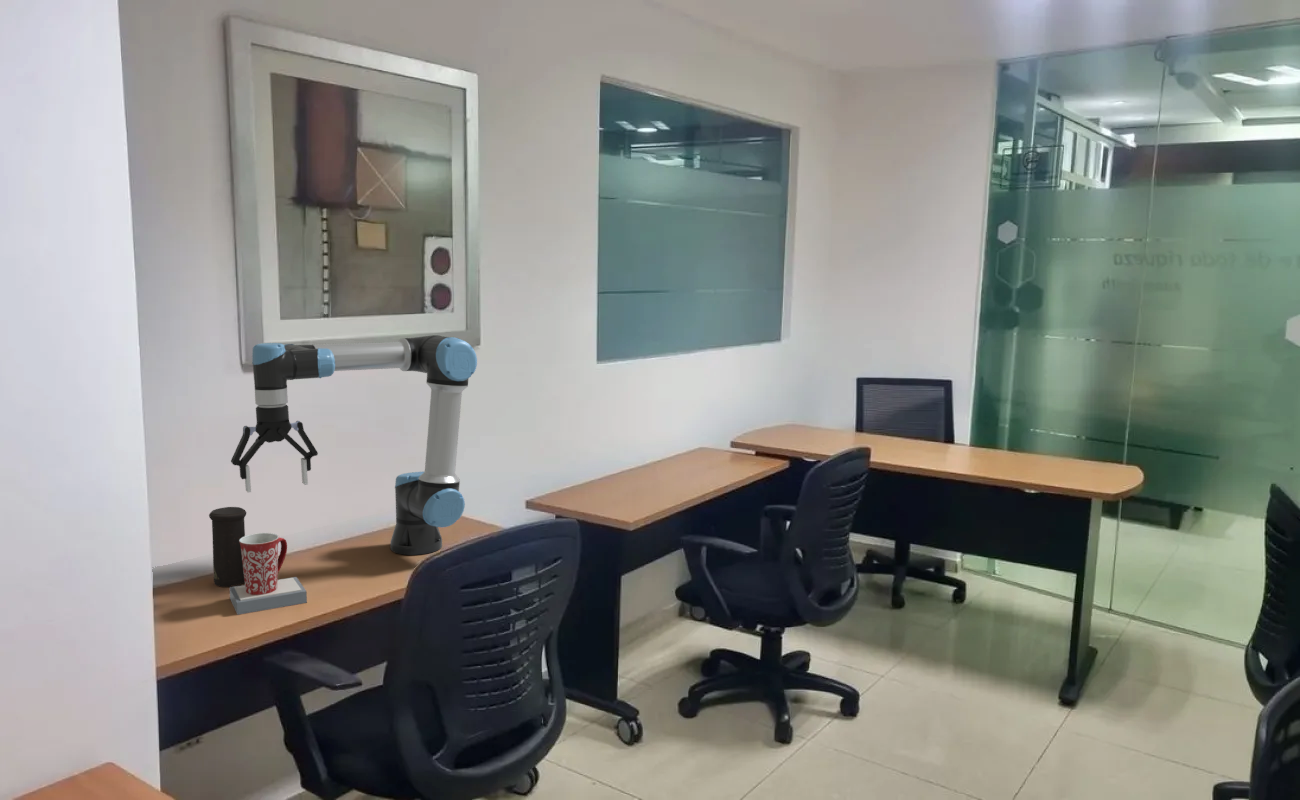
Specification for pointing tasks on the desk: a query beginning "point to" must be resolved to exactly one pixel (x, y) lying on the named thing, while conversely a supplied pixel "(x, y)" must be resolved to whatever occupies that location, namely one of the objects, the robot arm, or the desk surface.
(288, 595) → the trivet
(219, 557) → the container
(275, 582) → the mug
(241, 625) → the desk surface
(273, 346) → the robot arm
